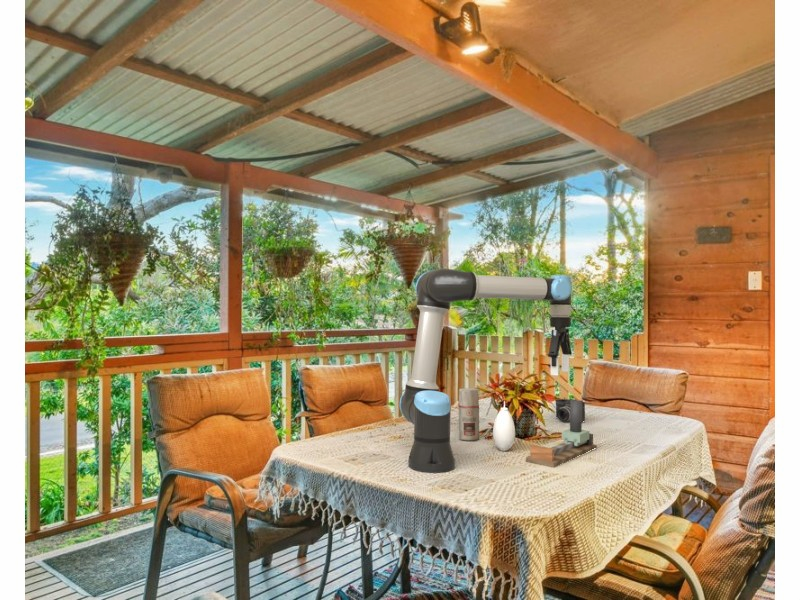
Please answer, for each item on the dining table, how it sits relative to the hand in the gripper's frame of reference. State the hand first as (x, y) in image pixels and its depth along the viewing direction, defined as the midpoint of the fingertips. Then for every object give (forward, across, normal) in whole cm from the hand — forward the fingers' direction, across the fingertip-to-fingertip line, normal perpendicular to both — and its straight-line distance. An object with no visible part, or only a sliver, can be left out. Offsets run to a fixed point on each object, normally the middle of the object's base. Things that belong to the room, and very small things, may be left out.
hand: (560, 373), depth 208 cm
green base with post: (+25, -1, -6) cm, 26 cm away
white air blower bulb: (+27, -17, +15) cm, 36 cm away
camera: (+28, +50, +12) cm, 59 cm away
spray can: (+27, -9, +33) cm, 44 cm away
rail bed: (+27, -11, -4) cm, 30 cm away
